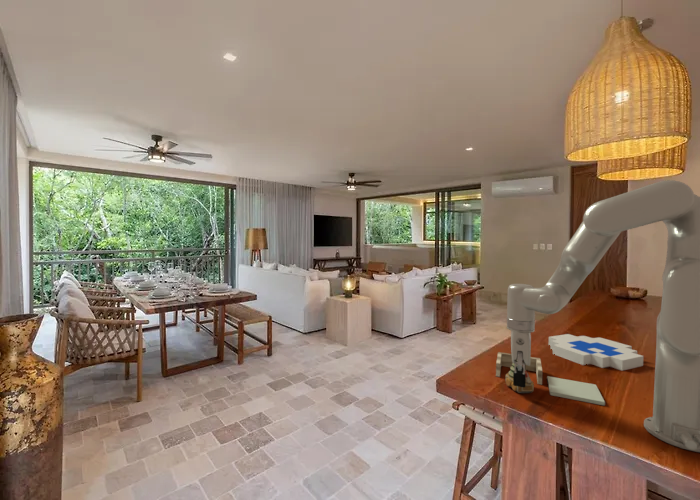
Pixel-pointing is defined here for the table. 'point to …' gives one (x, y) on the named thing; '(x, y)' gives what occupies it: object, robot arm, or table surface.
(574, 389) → the tile mat
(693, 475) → the table surface
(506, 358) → the shelf bay
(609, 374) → the table surface
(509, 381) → the ornament
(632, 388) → the table surface
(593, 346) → the pixel art tile
